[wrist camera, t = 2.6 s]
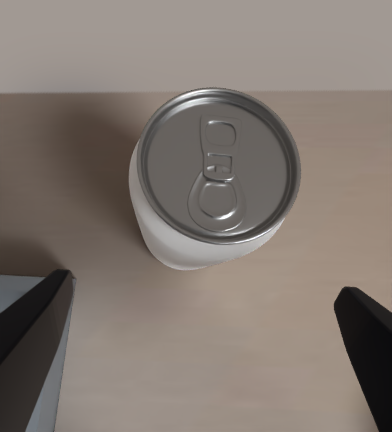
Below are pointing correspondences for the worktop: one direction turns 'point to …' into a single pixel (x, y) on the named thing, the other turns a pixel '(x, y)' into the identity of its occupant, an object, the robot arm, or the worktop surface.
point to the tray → (48, 400)
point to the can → (212, 177)
